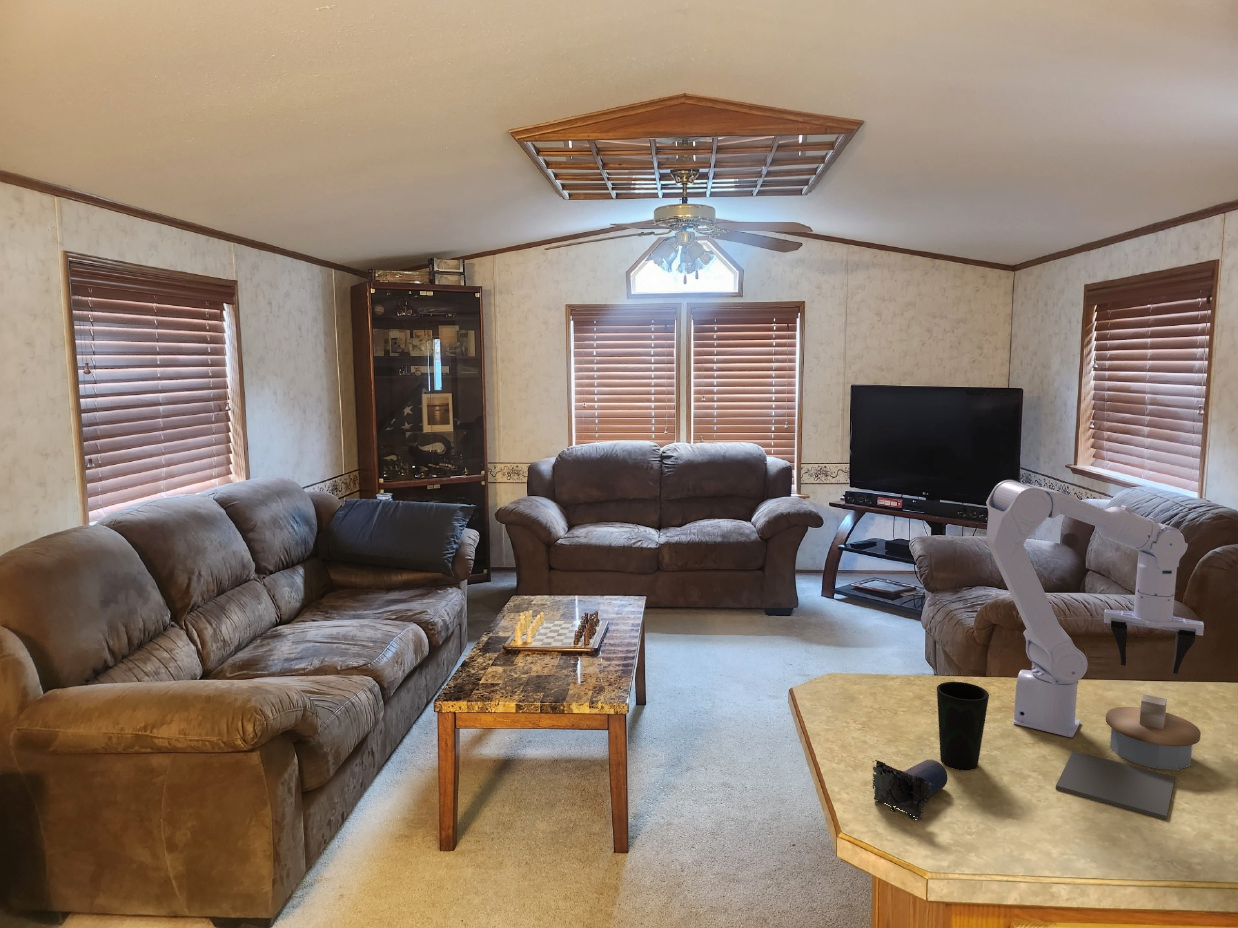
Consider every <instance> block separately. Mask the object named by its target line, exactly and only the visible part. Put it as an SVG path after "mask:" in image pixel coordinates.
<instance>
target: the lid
mask: <svg viewBox="0 0 1238 928" xmlns="http://www.w3.org/2000/svg"><path fill="white" fill-rule="evenodd" d="M1140 701H1141V702H1140V703H1141V704H1140V707H1139V706H1119V707H1113V708H1112V709H1109V710H1108V711H1106V713H1105V722H1106V724H1107V725H1108V726H1109V727H1110V728H1112V729H1114V730H1115V731H1117V732H1119V733H1121V734H1123V735H1125V736H1128V737H1130V738H1133V739H1136V740H1139V741H1143V742H1147V743H1151V744H1157V745H1163V746H1190V745H1192V746H1193V745H1196V744H1198V743H1199V742H1200V740H1201V735H1202V734H1201V730H1200V729H1199V727H1198V726H1197V725H1195V724H1194V723H1193V722H1191V721H1190V720H1187V719H1185V718H1184V717H1183V718H1182V717H1181V716H1178V715H1176V714H1172V713H1170V712H1167V702H1168V701H1167V698H1164V697H1160V696H1159V697H1158V696H1153V695H1150V694H1149V695H1148V694H1143V695H1142V697H1141V700H1140Z"/></svg>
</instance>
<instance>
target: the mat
mask: <svg viewBox="0 0 1238 928" xmlns="http://www.w3.org/2000/svg"><path fill="white" fill-rule="evenodd" d="M1175 780H1176V776H1175V775H1171V774H1167V773H1163V772H1161V771H1155V770H1152V769H1148V768H1145V767H1144V768H1143V767H1139V766H1135V765H1132V764H1128V763H1124V762H1119V761H1117V760H1112V759H1108V758H1104V757H1099V756H1095V755H1092V754H1088V753H1084V752H1079V751H1076V750H1072V752H1071V754H1070V755H1069V757H1068V760H1067V762H1066V764H1065V765H1064V768H1063V770H1062V772H1061V774H1060V776H1059V778H1058V780H1057V782H1056V784H1055V790H1058V791H1061V792H1065V793H1068V794H1071V795H1076V796H1078V797H1079V796H1080V797H1083V798H1086V799H1090V800H1093V801H1098V802H1100V803H1104V804H1108V805H1112V806H1115V807H1119V808H1122V809H1125V810H1128V811H1129V810H1130V811H1132V812H1137V813H1140V814H1144V815H1147V816H1151V817H1154V818H1157V819H1162V820H1164V821H1166V820H1167V817H1168V813H1169V809H1170V804H1171V798H1172V795H1173V789H1174V785H1175Z"/></svg>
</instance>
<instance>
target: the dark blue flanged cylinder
mask: <svg viewBox="0 0 1238 928" xmlns="http://www.w3.org/2000/svg"><path fill="white" fill-rule="evenodd" d="M875 762H876V763H875ZM872 763H875V764H876V765H873V766H872V771H873V773H872V789H873V790H874V792H873V793H874V795H873V800H874V801H877V800H878V801H880V802H879V803H881V802H883V803H886V804H888V805H890V806H891V808H890V810H891V809H892V810H895V809H894V807H893V806H896V807H895V808H899V809H900V810H903V811H905V812H907V814H906V816H907V815H908V818H912V820H913V819H914V820H913V821H916V820H915V819H917V820H920V819H921V820H922V816H923V813H924V812H923V809H925V805H926V804H928V803H929V800H930V799H931V796H932V795H933V794H935V793H937V792H938V791H940V790H942V789H944V788H945V787H946V785H947V783H948V778H949V777H948V771H947V769H946V768H945V765H944V764H943V763H942V762H939V761H938V760H935V759H925V760H923V761H921V762H920V763H917V764H916V765H913V766H911V767H909V768H908V769H906V770H901V769H897V768H894V767H892V766H891V765H888V764H886V762H883V761H881V760H877V759H875V760H872ZM878 801H877V802H878ZM883 803H882V804H883ZM888 805H887V806H888ZM900 810H899V811H900ZM910 814H911V815H910ZM913 816H915V817H913ZM917 817H918V818H920V819H918V818H917Z"/></svg>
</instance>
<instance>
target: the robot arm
mask: <svg viewBox="0 0 1238 928" xmlns="http://www.w3.org/2000/svg"><path fill="white" fill-rule="evenodd" d="M985 503H986V507H987V512H988V515H987V516H988V517H987V526H986V528H987V529H986V543H987V546H988V549H989V550H990V553H991V555H992V557H993V560H994V562H995V564H996V566H997V568H998V570H999V573H1000V575H1001V577H1002V579H1003V581H1004V583H1005V585H1006V587H1007V589H1008V592H1009V593H1010V596H1011V598H1012V601H1013V603H1014V605H1015V607H1016V609H1017V611H1018V613H1019V616H1020V618H1021V619H1022V623H1023V624H1024V626H1025V628H1026V629H1025V630H1024V631H1023V633H1022V634H1023V636H1024V638H1025V642H1026V643H1025V652H1026V655H1027V658H1028V660H1030V662H1031V670H1028V669H1020V670H1019V673H1018V675H1017V677H1016V685H1015V696H1014V697H1015V698H1014V711H1013V713H1014V714H1013V720H1012V723H1013V724H1015V725H1019V726H1022V727H1025V728H1030V729H1033V730H1034V729H1035V730H1038V731H1043V732H1046V733H1052V734H1055V735H1059V736H1063V737H1068V738H1073V737H1074V736H1075V734H1076V732H1077V730H1078V728H1079V726H1080V725H1081V719H1079V718H1076V714H1077V713H1076V711H1077V710H1076V709H1077V698H1078V697H1077V696H1078V685H1079V680H1081V679H1082V678H1083V677H1084V675H1086V672H1087V670H1088V665H1089V664H1088V660H1087V659H1088V658H1087V656H1086V655H1085V654H1084V652H1083V651H1081V650H1080V649H1079V648H1078V647H1076V645H1075V644H1074V642H1073V640H1072V638H1071V637H1070V635H1069V634H1067V631H1065V630H1064V628H1063V627H1062V625H1060V623H1059V620H1058V619H1057V616H1056V614H1055V612H1054V610H1053V608H1052V605H1051V604H1050V601H1049V599H1048V596H1047V594H1046V592H1045V590H1044V587H1043V585H1042V583H1041V581H1040V578H1039V577H1038V574H1037V573H1036V570H1035V568H1034V566H1033V563H1032V561H1031V559H1030V557H1029V555H1028V553H1027V550H1026V548H1025V546H1024V544H1025V542H1026V541H1027V539H1028V538H1029V537H1030V536H1031V534H1033V533H1034V532H1035V531H1036V530H1037V529H1038V528H1039V527H1040V526H1041V525H1042V524H1043V523H1044V522H1045V521H1046V520H1047V518H1050V519H1055V518H1057V517H1058V516H1060V515H1062V516H1066V517H1069V518H1072V519H1074V520H1077V521H1081V522H1083V523H1085V524H1088V525H1092V526H1095V527H1096V529H1097V531H1098V534H1099V535H1100V537H1101V538H1104V539H1106V540H1109V541H1112V542H1115V543H1117V544H1120V545H1123V546H1126V547H1128V548H1130V549H1133V550H1135V551H1137V553H1138V556H1137V570H1136V581H1135V582H1136V583H1135V591H1134V605H1133V610H1117V609H1104V614H1103V622H1104V624H1110V629H1111V632H1112V634H1113V636H1114V639H1115V642H1116V645H1117V648H1118V651H1119V656H1120V665H1121V666H1123V667H1126V664H1127V652H1126V651H1127V649H1126V648H1127V640H1128V637H1127V636H1128V625H1129V626H1135V627H1136V626H1137V627H1142V628H1151V629H1159V630H1165V631H1173V632H1175V641H1174V642H1175V645H1174V653H1173V658H1172V669H1171V670H1172V674H1176V675H1177V674H1179V670H1180V667H1181V664H1182V662H1183V660H1184V658H1185V657H1186V654H1187V653H1188V651H1189V650H1190V649H1191V647H1192V646H1193V645H1194V643H1195V642H1196V636H1204V629H1205V624H1204V621H1200V620H1194V619H1187V618H1184V617H1178V616H1174V607H1175V595H1176V594H1175V593H1176V582H1177V571H1178V568H1179V567H1180V560H1181V558H1182V557H1183V556H1184V555H1185V554H1186V552H1187V550H1188V546H1189V543H1188V542H1186V541H1185V537H1184V535H1183V533H1181V531H1180V529H1178V528H1176V527H1173V526H1170V525H1167V524H1164V523H1160V522H1158V518H1157V517H1153V516H1150V515H1149V516H1147V517H1146V516H1142V515H1141V514H1137V513H1135V512H1133V509H1134V508H1131V507H1129V506H1127V505H1120V507H1119V506H1111V507H1108V508H1105V509H1102V508H1100V507H1097V506H1095V505H1093V504H1091V503H1088V502H1085V501H1083V500H1081V499H1079V498H1076V497H1073V496H1072V495H1069V494H1066V493H1064V492H1060V491H1058V490H1054V489H1052V488H1047V487H1041V486H1039V485H1035V484H1034V485H1033V484H1029V483H1020V481H1017V480H1014V479H1006V480H1002V481H1000V482H999V483H997V484H996V485H995V486H994V488H993V489H992V491H991V492H990V494H989V496H988V498H987V500H986V501H985Z"/></svg>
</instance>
